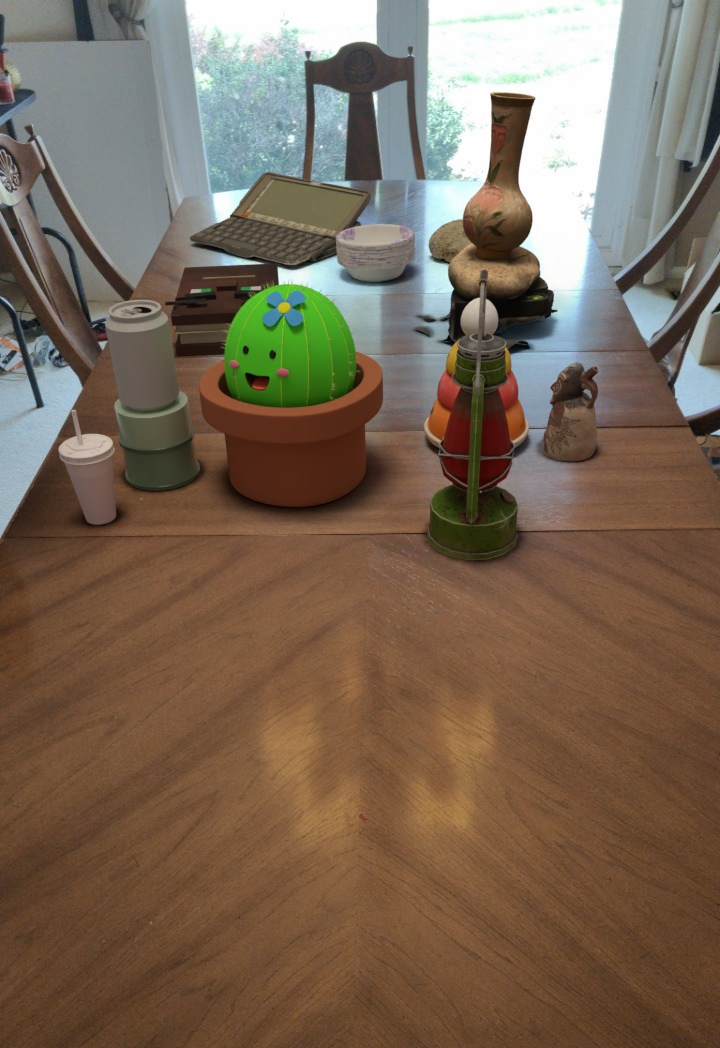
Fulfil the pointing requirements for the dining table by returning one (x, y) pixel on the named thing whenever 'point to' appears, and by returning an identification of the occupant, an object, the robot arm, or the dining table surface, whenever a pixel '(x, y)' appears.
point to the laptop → (287, 220)
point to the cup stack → (158, 445)
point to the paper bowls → (375, 251)
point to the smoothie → (91, 473)
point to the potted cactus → (292, 399)
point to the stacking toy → (449, 390)
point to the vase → (500, 232)
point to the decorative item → (448, 240)
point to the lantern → (476, 454)
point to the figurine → (572, 415)
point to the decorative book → (214, 303)
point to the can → (142, 355)
